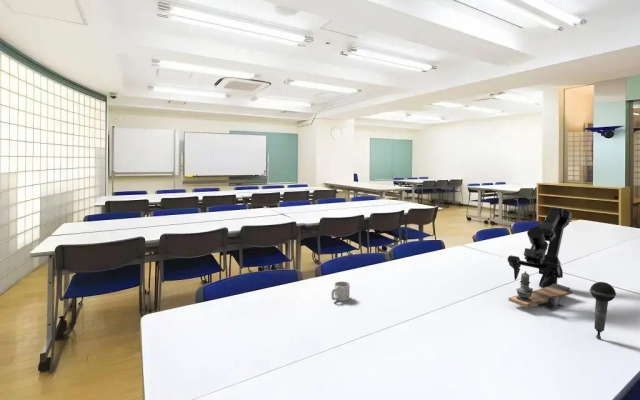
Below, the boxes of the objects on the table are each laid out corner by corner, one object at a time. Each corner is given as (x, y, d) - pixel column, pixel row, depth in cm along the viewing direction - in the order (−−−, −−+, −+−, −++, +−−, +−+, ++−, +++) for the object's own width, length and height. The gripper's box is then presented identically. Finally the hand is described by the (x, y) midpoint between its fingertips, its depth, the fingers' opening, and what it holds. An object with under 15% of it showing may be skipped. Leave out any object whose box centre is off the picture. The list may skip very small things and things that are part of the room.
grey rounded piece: (515, 295, 144) (516, 268, 143) (531, 297, 141) (533, 270, 140) (516, 300, 139) (517, 272, 138) (532, 303, 136) (534, 274, 135)
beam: (553, 287, 156) (553, 282, 156) (572, 293, 149) (573, 288, 149) (508, 300, 142) (508, 295, 142) (527, 307, 135) (527, 302, 135)
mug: (341, 294, 156) (341, 280, 155) (352, 298, 151) (352, 284, 150) (326, 300, 149) (326, 286, 148) (337, 305, 144) (337, 290, 143)
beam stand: (530, 295, 154) (531, 285, 153) (563, 307, 141) (564, 296, 141) (519, 298, 150) (519, 288, 150) (552, 310, 138) (553, 300, 137)
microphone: (584, 331, 121) (589, 277, 119) (610, 337, 117) (615, 281, 115) (586, 340, 115) (591, 283, 113) (612, 346, 111) (618, 287, 109)
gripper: (510, 237, 150) (498, 266, 144) (560, 245, 136) (549, 278, 130) (515, 251, 156) (505, 280, 150) (564, 260, 142) (554, 292, 136)
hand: (527, 282), depth 141 cm, fingers open, 9 cm apart
